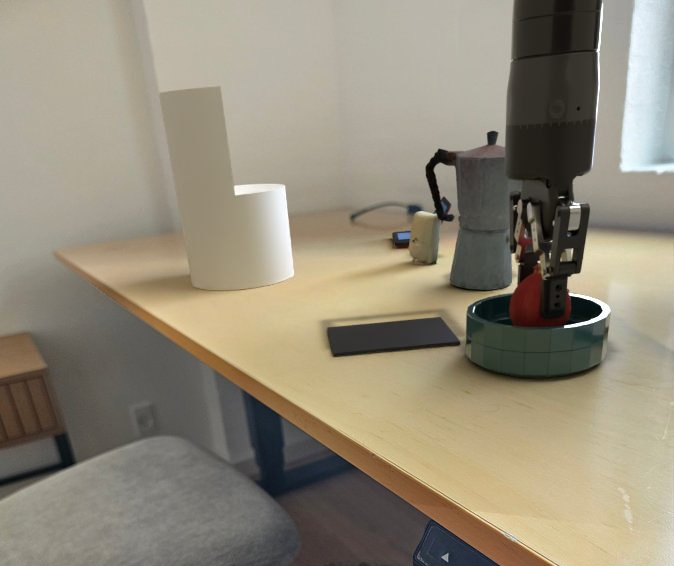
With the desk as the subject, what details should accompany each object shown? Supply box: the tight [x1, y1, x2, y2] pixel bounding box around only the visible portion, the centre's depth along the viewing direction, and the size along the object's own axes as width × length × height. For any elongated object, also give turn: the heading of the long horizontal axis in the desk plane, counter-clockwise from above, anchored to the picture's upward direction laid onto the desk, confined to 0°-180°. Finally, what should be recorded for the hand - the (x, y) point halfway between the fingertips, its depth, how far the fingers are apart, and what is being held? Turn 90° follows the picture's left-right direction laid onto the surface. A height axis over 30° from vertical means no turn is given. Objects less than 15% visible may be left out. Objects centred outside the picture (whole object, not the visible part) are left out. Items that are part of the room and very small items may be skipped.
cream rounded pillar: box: [408, 210, 442, 266], centre depth 109 cm, size 6×5×8 cm
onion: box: [509, 264, 571, 327], centre depth 64 cm, size 6×6×8 cm
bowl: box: [465, 292, 612, 379], centre depth 65 cm, size 13×13×5 cm
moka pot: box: [425, 130, 523, 291], centre depth 91 cm, size 10×15×20 cm, turn 71°
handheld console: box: [391, 196, 452, 249], centre depth 127 cm, size 12×11×7 cm
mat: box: [326, 316, 461, 358], centre depth 76 cm, size 14×10×1 cm
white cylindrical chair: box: [158, 85, 295, 291], centre depth 104 cm, size 17×17×28 cm
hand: (539, 308), depth 64 cm, fingers closed on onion, 6 cm apart
